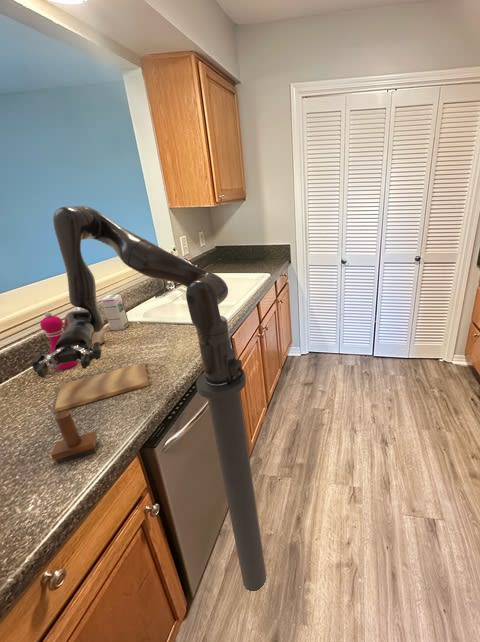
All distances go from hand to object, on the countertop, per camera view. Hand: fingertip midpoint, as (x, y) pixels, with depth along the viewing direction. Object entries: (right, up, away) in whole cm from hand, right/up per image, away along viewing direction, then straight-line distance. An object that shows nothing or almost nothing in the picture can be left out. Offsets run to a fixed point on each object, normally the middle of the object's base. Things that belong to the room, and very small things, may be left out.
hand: (62, 369), depth 77 cm
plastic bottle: (-24, +2, +52) cm, 57 cm away
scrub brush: (+5, -19, -2) cm, 20 cm away
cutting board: (-4, -9, +23) cm, 25 cm away
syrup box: (-23, +8, +67) cm, 71 cm away
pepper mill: (-26, -4, +37) cm, 45 cm away
